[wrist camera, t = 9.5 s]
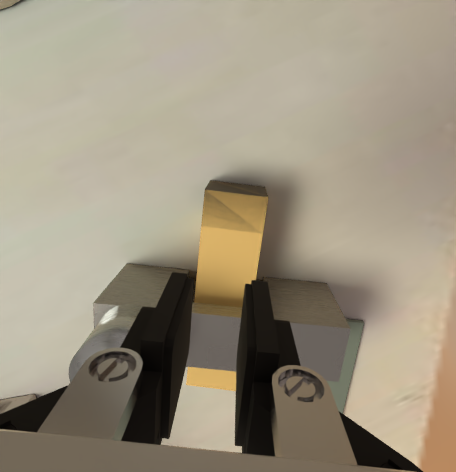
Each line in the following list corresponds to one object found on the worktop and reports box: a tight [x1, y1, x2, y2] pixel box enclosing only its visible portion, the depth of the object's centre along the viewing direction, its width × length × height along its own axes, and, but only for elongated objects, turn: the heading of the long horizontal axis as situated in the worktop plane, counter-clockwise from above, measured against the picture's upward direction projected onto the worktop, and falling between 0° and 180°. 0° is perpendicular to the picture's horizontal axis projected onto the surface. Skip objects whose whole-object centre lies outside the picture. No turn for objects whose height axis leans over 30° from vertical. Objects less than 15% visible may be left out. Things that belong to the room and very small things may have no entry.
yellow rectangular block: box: [186, 180, 268, 391], centre depth 26 cm, size 15×4×4 cm, turn 173°
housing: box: [69, 264, 351, 382], centre depth 23 cm, size 4×16×10 cm, turn 85°
